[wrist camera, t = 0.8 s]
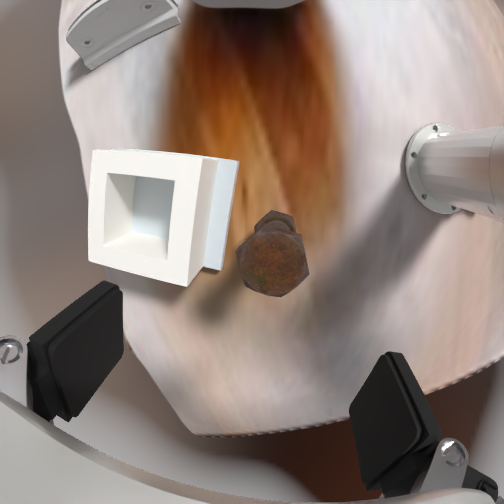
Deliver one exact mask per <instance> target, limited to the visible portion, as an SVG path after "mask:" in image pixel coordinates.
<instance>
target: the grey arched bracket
mask: <svg viewBox="0 0 504 504" xmlns="http://www.w3.org/2000/svg"><path fill="white" fill-rule="evenodd" d="M176 6H177V3H176V2H175V1H174V0H96V1H94V2H93V3H92V4H91V5H89V6H88V7H87V8H86V9H85V10H84V11H83V12H82V13H81V14H80V15H79V16H78V17H77V19H76V20H75V21H74V22H73V24H72V25H71V26H70V28H69V30H68V33H67V37H66V40H67V42H68V44H69V45H70V46H71V47H72V48H73V49H74V50H75V51H76V52H77V54H78V55H79V56H80V57H81V58H82V59H83V62H84V64H85V66H86V67H87V68H89V69H90V70H91V71H92V70H94V69H95V68H97V67H98V66H100V65H101V64H103V63H104V62H106V61H108V60H109V59H111V58H112V57H114V56H116V55H117V54H119V53H121V52H123V51H124V50H126V49H128V48H130V47H132V46H133V45H135V44H137V43H139V42H141V41H143V40H145V39H147V38H149V37H151V36H153V35H155V34H157V33H159V32H161V31H164V30H166V29H168V28H170V27H173V26H175V25H177V24H180V23H181V21H180V19H179V17H178V16H177V13H178V8H177V7H176Z"/></svg>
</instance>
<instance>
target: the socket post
mask: <svg viewBox="0 0 504 504" xmlns="http://www.w3.org/2000/svg"><path fill="white" fill-rule="evenodd" d="M239 163H240V161H235V160H228V159H221V158H214V157H207V156H199V155H190V154H181V153H172V152H161V151H149V150H135V149H117V148H111V150H93V155H92V164H91V174H90V188H89V207H88V208H89V209H88V255H89V261H91V262H94V263H97V264H101V265H104V266H108V267H112V268H115V269H119V270H122V271H126V272H130V273H134V274H137V275H141V276H145V277H149V278H153V279H157V280H161V281H165V282H169V283H173V284H177V285H181V286H185V287H187V286H188V285H189V284H190V282H191V281H192V280H193V279H194V277H195V276H196V275H197V273H198V272H199V271H200V270H201V268H202V267H207V268H212V269H216V270H221V269H222V267H223V262H224V255H225V249H226V242H227V236H228V229H229V223H230V217H231V210H232V204H233V198H234V192H235V186H236V180H237V174H238V168H239Z"/></svg>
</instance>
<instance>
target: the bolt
mask: <svg viewBox="0 0 504 504" xmlns="http://www.w3.org/2000/svg"><path fill="white" fill-rule="evenodd" d="M254 228H255V233H254V234H253V235H252V236H251V237H250V238H249V239H247V240H246V241H245V242H244V243H243V244H242V245H241V246H240V247H239V248H238V250H237V251H236V253H237V259H238V264H239V268H240V272H241V276H242V278H243V281H244V284H245V286H246V287H248V288H250V289H251V290H254V291H256V292H259V293H262V294H265V295H269V296H274V297H282V296H284V295H286V294H288V293H289V292H290V291H292V290H293V289H294V288H296V287H297V286H298V285H299V284H300V283H301V282H302V281H304V279H305V278H306V277H307V276H308V275H309V270H308V264H307V259H306V254H305V249H304V244H303V240H302V236H301V234H298V233H296V228H295V224H294V219H293V217H292V216H289V215H287V214H284V213H280V212H277V211H273V210H271V211H270V212H269V213H268V214H266V215H265V216H264V217H263V218H262V219H261V220H260V221H259V222H258V223H257V224H256V225H255V227H254Z"/></svg>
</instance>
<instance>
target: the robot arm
mask: <svg viewBox="0 0 504 504" xmlns="http://www.w3.org/2000/svg"><path fill="white" fill-rule="evenodd" d="M411 154H412V156H411ZM405 166H406V175H407V178H408V182H409V185H410V187H411V190H412V192H413V193H414V195H415V196H416V198H417V199H418V200H419V201H420V203H421V204H422V205H424V206H425V207H426V208H428V209H429V210H432V211H434V212H437V213H440V214H451V213H454V212H457V211H459V210H460V209H465V210H468V211H471V212H474V213H477V214H480V215H483V216H486V217H489V218H492V219H494V220H497V221H500V222H503V223H504V126H495V127H485V128H476V129H468V130H461V131H458V130H457V129H455V128H454V127H452V126H450V125H448V124H445V123H431V124H427V125H425V126H423V127H421V128H420V129H419V130H418V131H417V132H416V133H415V134H414V135H413V137H412V138H411V140H410V142H409V145H408V147H407V152H406V161H405ZM29 339H30V342H28V343H27V344H26V343H25V342H24V341H23V340H22V339H21V338H19V337H17V336H13V335H7V336H2V337H0V504H504V499H503V498H502V497H501V496H499V497H498V486H497V484H496V482H495V481H494V480H492V479H491V478H489V477H488V476H486V475H484V474H482V473H480V472H479V471H477V470H475V469H473V468H472V467H470V466H468V465H467V464H468V452H467V450H466V448H465V447H464V446H463V444H462V443H461V442H459V441H458V440H456V439H453V438H446V439H443V440H442V441H440V442H439V441H438V438H439V437H440V436H441V434H442V431H441V429H440V427H439V425H438V422H437V420H436V418H435V416H434V414H433V412H432V410H431V408H430V406H429V404H428V401H427V399H426V398H425V395H424V393H423V391H422V390H421V388H420V386H419V384H418V382H417V380H416V378H415V376H414V374H413V372H412V370H411V369H410V367H409V365H408V363H407V361H406V359H405V358H404V356H403V354H402V353H396V352H386V353H385V354H384V355H381V356H380V358H379V359H378V361H377V363H376V365H375V366H374V368H373V370H372V371H371V373H370V375H369V376H368V378H367V380H366V381H365V383H364V385H363V386H362V388H361V389H360V391H359V392H358V394H357V395H356V397H355V398H354V400H353V401H352V403H351V405H350V408H349V414H350V419H351V424H352V428H353V434H354V439H355V444H356V449H357V455H358V460H359V466H360V472H361V478H362V482H363V483H364V484H366V489H367V491H372V490H380V489H381V488H382V492H383V493H382V495H381V496H380V498H379V499H374V500H366V501H354V502H337V503H301V502H283V501H271V500H262V499H254V498H247V497H241V496H235V495H229V494H224V493H219V492H215V491H210V490H205V489H202V488H197V487H194V486H190V485H186V484H183V483H180V482H176V481H173V480H170V479H167V478H163V477H161V476H158V475H155V474H152V473H149V472H147V471H144V470H142V469H139V468H136V467H134V466H131V465H129V464H127V463H124V462H122V461H120V460H118V459H115V458H113V457H111V456H109V455H107V454H105V453H103V452H100V451H98V450H97V449H95V448H93V447H91V446H89V445H87V444H85V443H83V442H82V441H79V440H78V439H76V438H74V437H73V436H71V435H69V434H67V433H66V432H64V431H62V430H61V429H59V428H57V427H56V426H54V423H53V419H54V417H55V416H56V415H57V416H59V417H61V418H62V419H64V420H65V421H67V422H69V421H70V420H71V418H72V417H77V416H78V415H79V414H80V412H81V411H82V410H83V408H84V407H85V405H86V404H87V403H88V401H89V400H90V399H91V397H92V396H93V395H94V393H95V392H96V390H97V389H98V387H99V386H100V385H101V384H102V382H103V381H104V380H105V378H106V377H107V376H108V374H109V373H110V372H111V370H112V369H113V368H114V367H115V365H116V364H117V363H118V361H119V360H120V359H121V357H122V354H123V351H124V345H123V293H122V291H120V290H119V286H118V285H115V284H113V283H110V282H107V281H102V282H100V283H99V284H98V285H96V286H95V287H94V288H92V289H91V290H89V291H88V292H87V293H85V294H84V295H82V296H81V297H80V298H78V299H77V300H76V301H74V302H73V303H72V304H70V305H69V306H68V307H67V308H65V309H64V310H63V311H61V312H60V313H59V314H58V315H56V316H55V317H54V318H52V319H51V320H50V321H49V322H47V323H46V324H45V325H43V326H42V327H41V328H40V329H39V330H37V331H36V332H35V333H34V334H32V335H31V336H30V337H29Z"/></svg>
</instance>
